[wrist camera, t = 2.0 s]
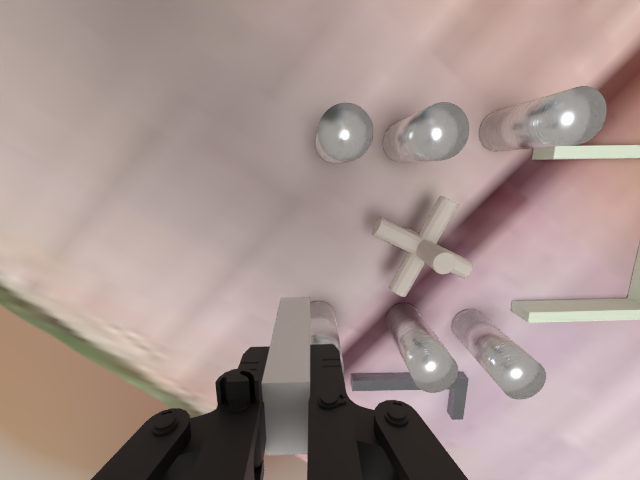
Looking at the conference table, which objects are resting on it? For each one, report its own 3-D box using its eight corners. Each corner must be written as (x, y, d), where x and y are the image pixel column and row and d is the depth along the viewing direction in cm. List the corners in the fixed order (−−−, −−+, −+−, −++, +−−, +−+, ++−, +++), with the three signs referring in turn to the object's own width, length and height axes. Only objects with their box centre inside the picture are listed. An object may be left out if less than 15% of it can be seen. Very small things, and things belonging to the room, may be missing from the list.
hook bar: (349, 412, 40) (351, 421, 39) (351, 373, 39) (352, 380, 37) (457, 410, 40) (462, 419, 39) (462, 371, 39) (468, 378, 38)
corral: (533, 147, 33) (555, 146, 30) (673, 146, 33) (707, 144, 30) (510, 310, 37) (527, 322, 34) (634, 307, 38) (661, 319, 35)
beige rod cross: (422, 292, 36) (464, 338, 27) (346, 256, 35) (360, 291, 25) (468, 215, 34) (530, 234, 25) (389, 174, 33) (422, 178, 23)
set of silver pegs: (295, 112, 31) (288, 87, 22) (519, 110, 32) (611, 85, 22) (301, 344, 37) (298, 406, 28) (490, 338, 38) (553, 398, 28)
